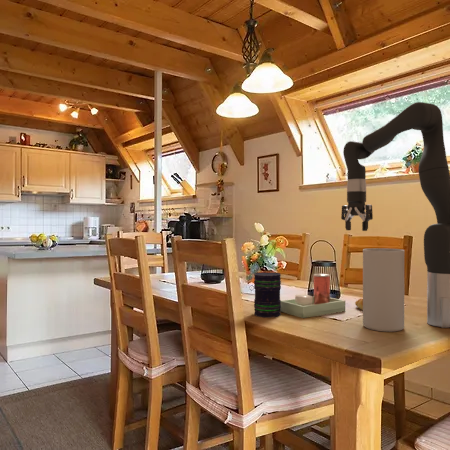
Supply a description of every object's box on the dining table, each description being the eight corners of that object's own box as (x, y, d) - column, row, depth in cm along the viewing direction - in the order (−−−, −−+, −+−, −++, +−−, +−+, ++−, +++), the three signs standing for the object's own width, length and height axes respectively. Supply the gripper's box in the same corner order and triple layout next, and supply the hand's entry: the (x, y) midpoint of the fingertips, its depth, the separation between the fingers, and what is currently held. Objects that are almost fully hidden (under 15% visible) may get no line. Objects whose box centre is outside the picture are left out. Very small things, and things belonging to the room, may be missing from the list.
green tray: (320, 305, 174) (320, 295, 174) (345, 311, 163) (345, 300, 163) (279, 311, 163) (279, 300, 163) (303, 318, 152) (303, 306, 152)
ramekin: (315, 308, 161) (316, 296, 161) (306, 310, 156) (307, 298, 156) (300, 305, 165) (301, 294, 165) (291, 308, 160) (292, 295, 160)
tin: (332, 307, 163) (332, 275, 163) (316, 307, 162) (316, 275, 162) (326, 304, 169) (326, 273, 169) (311, 304, 168) (311, 273, 168)
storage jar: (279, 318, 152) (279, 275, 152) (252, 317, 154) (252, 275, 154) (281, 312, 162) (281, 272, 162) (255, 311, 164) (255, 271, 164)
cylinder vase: (371, 320, 148) (371, 247, 147) (409, 326, 140) (409, 249, 139) (356, 328, 138) (356, 250, 138) (396, 334, 130) (396, 251, 130)
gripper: (336, 191, 180) (336, 230, 180) (364, 189, 168) (364, 231, 168) (349, 192, 184) (349, 230, 184) (377, 190, 172) (377, 230, 172)
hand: (356, 230), depth 176 cm, fingers open, 8 cm apart
